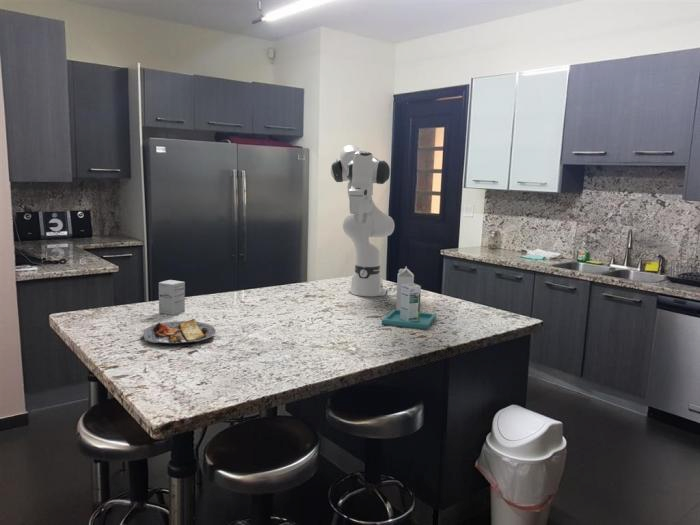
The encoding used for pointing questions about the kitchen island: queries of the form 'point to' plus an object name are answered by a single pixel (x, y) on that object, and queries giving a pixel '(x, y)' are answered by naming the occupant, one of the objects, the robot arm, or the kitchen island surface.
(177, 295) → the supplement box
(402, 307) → the syrup box
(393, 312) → the tray
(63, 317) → the kitchen island surface
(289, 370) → the kitchen island surface
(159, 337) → the food plate
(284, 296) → the kitchen island surface
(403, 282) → the milk carton
